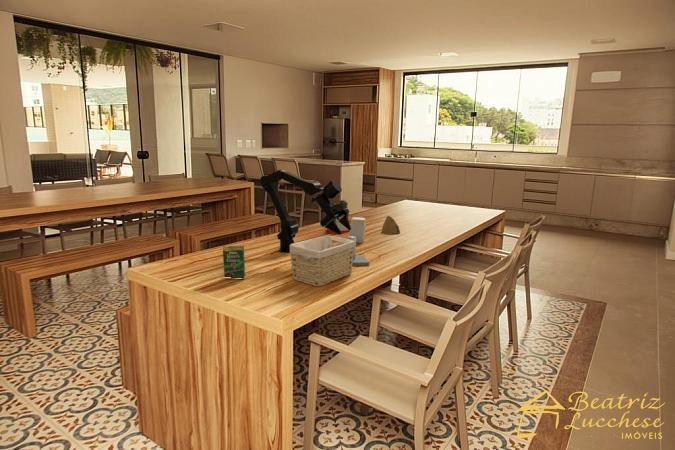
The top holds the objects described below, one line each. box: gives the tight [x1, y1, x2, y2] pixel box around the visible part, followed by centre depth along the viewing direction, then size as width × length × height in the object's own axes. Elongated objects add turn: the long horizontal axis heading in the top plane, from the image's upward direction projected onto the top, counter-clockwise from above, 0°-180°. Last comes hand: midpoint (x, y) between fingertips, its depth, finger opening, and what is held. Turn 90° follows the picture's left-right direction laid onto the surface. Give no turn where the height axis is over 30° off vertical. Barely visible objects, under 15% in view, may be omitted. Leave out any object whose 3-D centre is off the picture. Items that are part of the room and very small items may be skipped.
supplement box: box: [349, 216, 367, 244], centre depth 238 cm, size 7×7×13 cm
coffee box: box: [222, 245, 246, 279], centre depth 170 cm, size 8×3×13 cm, turn 90°
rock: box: [380, 215, 401, 234], centre depth 261 cm, size 11×9×10 cm
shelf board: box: [352, 254, 370, 267], centre depth 199 cm, size 14×12×2 cm
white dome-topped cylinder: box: [345, 235, 357, 259], centre depth 199 cm, size 4×4×10 cm
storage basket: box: [289, 234, 355, 287], centre depth 175 cm, size 24×16×15 cm
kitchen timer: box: [326, 219, 351, 234], centre depth 262 cm, size 14×14×15 cm
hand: (345, 232), depth 200 cm, fingers open, 9 cm apart
